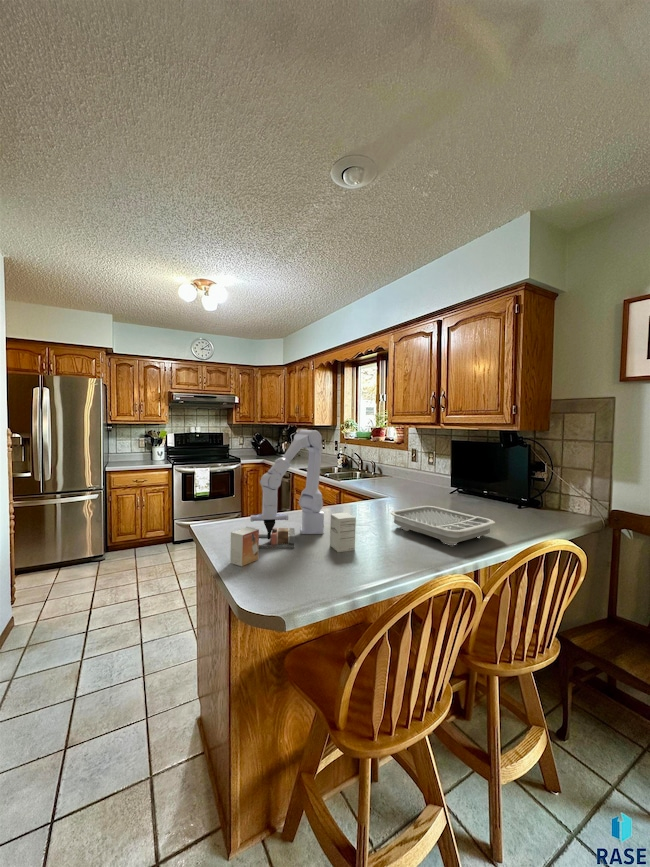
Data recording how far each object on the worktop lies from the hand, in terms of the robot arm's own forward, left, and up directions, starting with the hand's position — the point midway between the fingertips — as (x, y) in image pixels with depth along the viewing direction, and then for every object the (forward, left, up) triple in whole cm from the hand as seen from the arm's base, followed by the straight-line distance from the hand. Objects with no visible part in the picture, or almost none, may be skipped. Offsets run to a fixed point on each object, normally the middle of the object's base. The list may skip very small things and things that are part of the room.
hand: (269, 538), depth 137 cm
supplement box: (-28, +7, -2) cm, 29 cm away
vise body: (-1, 0, -1) cm, 2 cm away
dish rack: (-74, -10, -2) cm, 75 cm away
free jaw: (-2, 0, -1) cm, 3 cm away
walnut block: (-6, 0, -1) cm, 6 cm away
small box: (+7, +18, -2) cm, 19 cm away
